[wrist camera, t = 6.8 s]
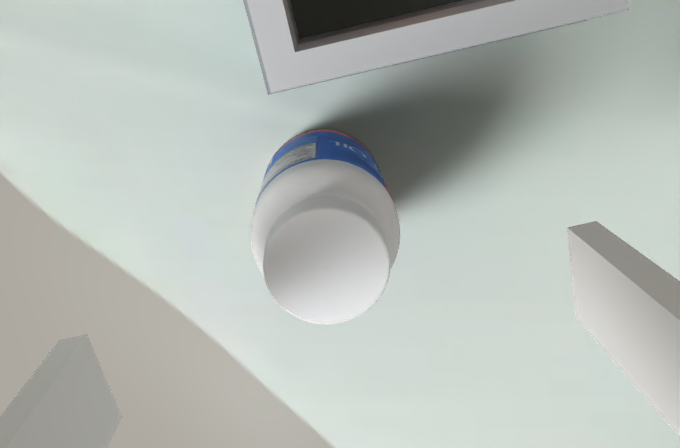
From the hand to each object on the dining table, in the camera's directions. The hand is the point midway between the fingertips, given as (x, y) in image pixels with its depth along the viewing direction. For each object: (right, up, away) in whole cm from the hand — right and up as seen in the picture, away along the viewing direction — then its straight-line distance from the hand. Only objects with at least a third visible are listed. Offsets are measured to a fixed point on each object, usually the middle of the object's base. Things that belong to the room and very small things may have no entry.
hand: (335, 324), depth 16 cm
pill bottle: (-1, +5, +12) cm, 13 cm away
